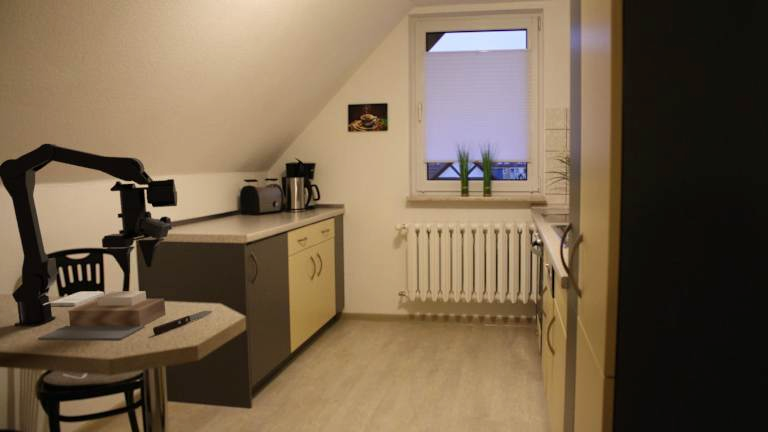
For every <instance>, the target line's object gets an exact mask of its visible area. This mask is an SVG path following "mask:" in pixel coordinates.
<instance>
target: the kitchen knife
mask: <svg viewBox="0 0 768 432" xmlns="http://www.w3.org/2000/svg"><path fill="white" fill-rule="evenodd" d="M212 313H213V310H201V311H198V312H196V313H193V314H190V315H185V316H183V317H180V318H177V319H174V320H172V321H168V322H166V323H162V324H160V325H157V326H154V327H153V328H152V331H153V335H154V336H159V335H160V334H162V333H165V332H169V330H170V331H172V329H173V330H175V329H178V328H180V327H182V325H183V326H184V325H186V324H189V322H190V323H192V322H194V321H193V320H195V321H197V320H196V319H198V318H200V319H202V318H201V317H203V316H206V315H207V316H209V315H210V314H212ZM207 316H206V317H207ZM203 318H204V317H203ZM198 320H199V319H198ZM191 321H192V322H191ZM177 327H178V328H177Z"/></svg>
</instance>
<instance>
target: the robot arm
mask: <svg viewBox="0 0 768 432" xmlns="http://www.w3.org/2000/svg"><path fill="white" fill-rule="evenodd" d="M53 162H57V163H61V164H66V165H70V166H76V167H81V168H86V169H90V170H95V171H98V172H99V171H100V172H101V173H104V174H107V175H109V176H111V177H113V178H116V179H118V180H117V181H115V184H114V185H113V186H112V187H111V188H110V191H111V192H119V201H120V211H121V212H120V213H117V218H118V219H121V222H122V223H121V225H122V229H120V230H118V233H111V234H107V235H104V236H103V237H102V239H101V246H102V248H103V249H106V251H108V252H109V253H110V254H111V256H112V257H113V258H114V259H115V261H116V262H117V264H118V265H119V267H120V269H121V271H122V272H123V274H124V275H127V276H128V275H130V273H131V253H132V251H133V250H134V248H135V246H133V245H134V243H135V242H134V241H137V242H138V245H139V248H140V251H141V253H142V257H143V260H144V262H145V265H146V267H147V268H152V266H153V263H154V259H155V254H156V251H157V247H158V246H159V245H160V244H161V243H162V242H163V241H164V240H165V238H166V237H168V235H169V234H168V233H169V231H172V229H173V227H172V220H171V217H168V216H166V215H165V216H161V217H160V218H153V217H152V213H151V211H149V210H147V205H146V204H149V205H151V206H152V208H167V207H177V206H178V192H177V188H176V184H175V179H173V178H169V179H165V180H163V179H161V180H153V179H152V177H151V176H150V175H149V174H148V173H147V172H146V171H145V166H144V163H143V162H142V160H140V159H138V158H136V157H127V156H126V157H125V156H105V155H100V154H97V153H93V152H86V151H82V150H78V149H74V148H73V149H72V148H68V147H65V146H59V145H57V144H55V143H43V144H41V145H39V146H38V147H36V148H35V149H33V150H31V151H29V152H26V153H25V154H23V155H20V156H19V157H17V158H9V159H6V160H4V161H2V163H1V164H0V180H1V183H2V186H3V187H4V188H5V191H6V192H7V193H8V194H9V196H10V197H11V199H12V205H13V206H12V207H13V210H14V215H15V220H16V224H17V225H16V226H17V229H18V234H19V239H20V242H21V248H22V254H23V261H22V265H21V284H20V285H19V287H17V288H16V289H15V290H14V292H12V297H13V299H14V301H15V303H16V304H17V313H18V322H14V326H18V325H23V326H31V327H32V326H36V327H37V326H40V325H42V324H45V323H48V322H50V321H53V320H55V319H56V316H53V315H52V313H53V312H52V306H51V303H50V302H51V301H50V296H49V295H46V294H49V292H50V288H51V287H52V286H53V285H54V284H55V282H56V281H57V276H58V274H60V271H58V269H57V260H56V257H52V258H49V256H48V254H46V252H45V251H46V250H45V246H44V242H43V237H42V231H41V226H40V223H39V222H40V221H39V218H38V213H37V212H38V211H37V208H36V202H35V198H34V192H35V186H36V173H37V172H39V171H40V170H42V169H43V168H45V167H46V166H47V165H49V164H51V163H53ZM121 181H124V182H132V183H122V182H121ZM133 182H134V183H133ZM136 185H139V186H140V187H137V186H136ZM144 185H145V186H144ZM146 185H147V186H146ZM145 191H146V193H145ZM146 201H147V203H146Z"/></svg>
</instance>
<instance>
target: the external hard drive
mask: <svg viewBox="0 0 768 432" xmlns="http://www.w3.org/2000/svg"><path fill="white" fill-rule="evenodd" d="M102 295H105V293H104V291H78V292H74V293H72V294H70V295H67V296H64V297H61V298H58V299H56V300H53V301H49V302H50V303H51V307H76V306H77V307H78V306H79V305H83V304H85V303H88V302H89V301H90V302H91V301H92V300H96V299H97V297H100V296H102Z"/></svg>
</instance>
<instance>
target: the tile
mask: <svg viewBox="0 0 768 432" xmlns="http://www.w3.org/2000/svg"><path fill="white" fill-rule="evenodd" d="M146 299H147V293H146V290H143V291H142V290H137V291H136V290H133V291H132V290H131V291H130V290H129V291H121V290H120V291H117V290H116V291H110V292H108V293H104V295H102V296H100V297H97V298H96V300H97V301H98V306H126V305H134V304H137V303H139V302H141V301H143V300H146Z"/></svg>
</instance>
